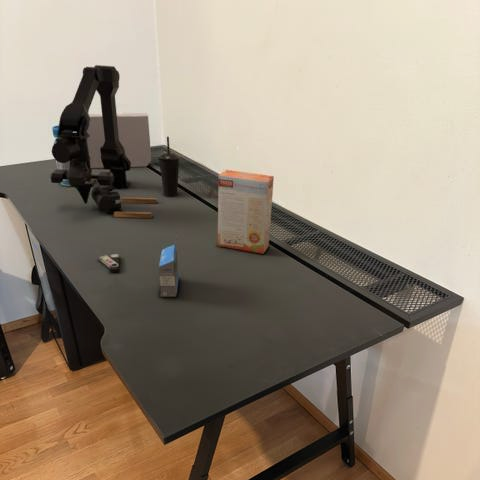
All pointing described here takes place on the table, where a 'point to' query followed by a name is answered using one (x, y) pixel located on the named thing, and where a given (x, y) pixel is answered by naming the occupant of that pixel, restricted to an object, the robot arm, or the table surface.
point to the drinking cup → (169, 171)
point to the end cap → (106, 199)
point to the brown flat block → (136, 214)
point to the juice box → (169, 271)
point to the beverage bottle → (59, 165)
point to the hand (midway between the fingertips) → (86, 203)
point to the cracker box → (244, 210)
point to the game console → (122, 138)
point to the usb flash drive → (111, 262)
